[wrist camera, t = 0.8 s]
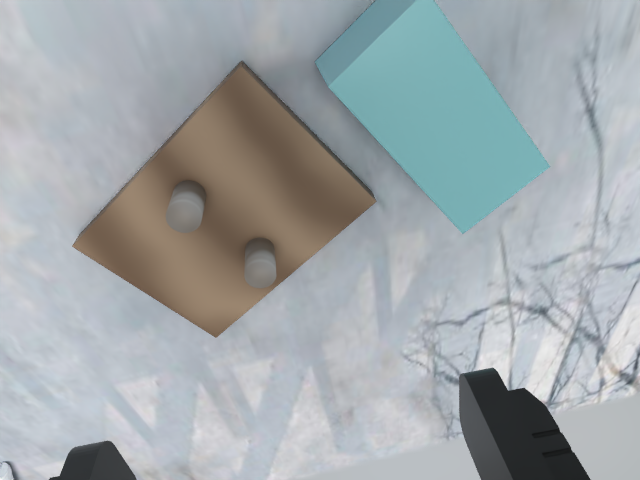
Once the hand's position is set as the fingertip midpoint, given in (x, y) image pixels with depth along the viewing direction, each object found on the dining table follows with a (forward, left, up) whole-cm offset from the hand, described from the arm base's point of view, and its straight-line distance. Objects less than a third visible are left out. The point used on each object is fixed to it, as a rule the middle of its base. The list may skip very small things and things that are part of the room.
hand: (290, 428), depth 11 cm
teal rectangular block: (-8, +5, -22) cm, 24 cm away
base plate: (+6, +2, -22) cm, 23 cm away
